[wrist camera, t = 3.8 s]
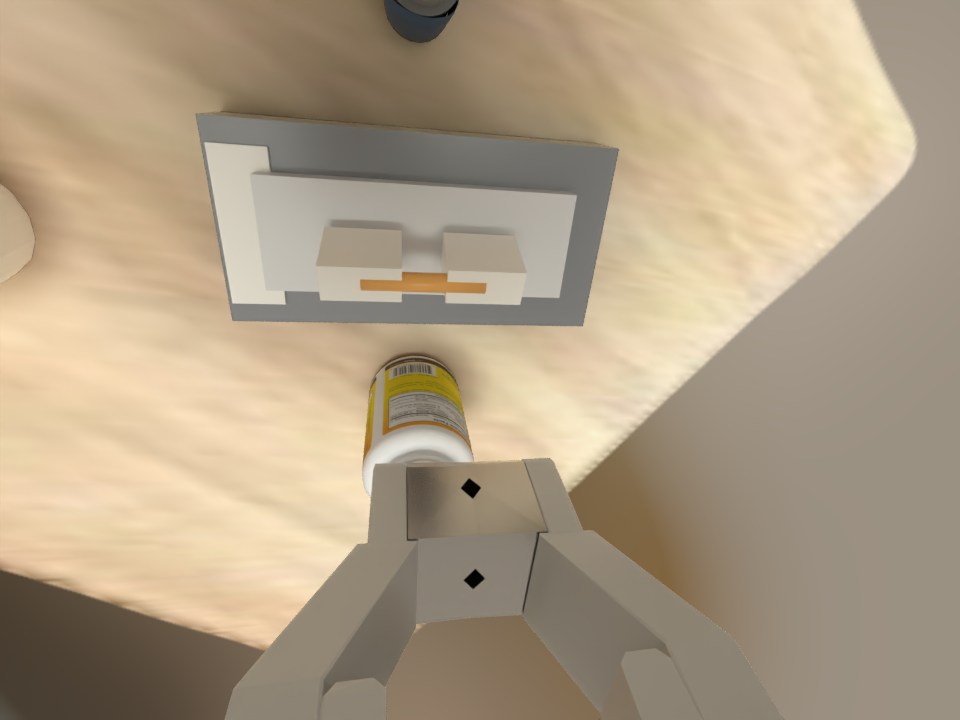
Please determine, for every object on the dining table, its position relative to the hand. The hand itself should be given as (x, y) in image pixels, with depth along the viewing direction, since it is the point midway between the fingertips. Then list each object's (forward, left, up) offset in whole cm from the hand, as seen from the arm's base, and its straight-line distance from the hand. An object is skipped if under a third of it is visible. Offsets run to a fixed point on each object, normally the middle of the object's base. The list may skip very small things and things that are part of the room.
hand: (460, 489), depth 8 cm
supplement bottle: (+10, 0, -20) cm, 22 cm away
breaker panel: (0, 0, -20) cm, 20 cm away
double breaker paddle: (0, 0, -15) cm, 15 cm away
